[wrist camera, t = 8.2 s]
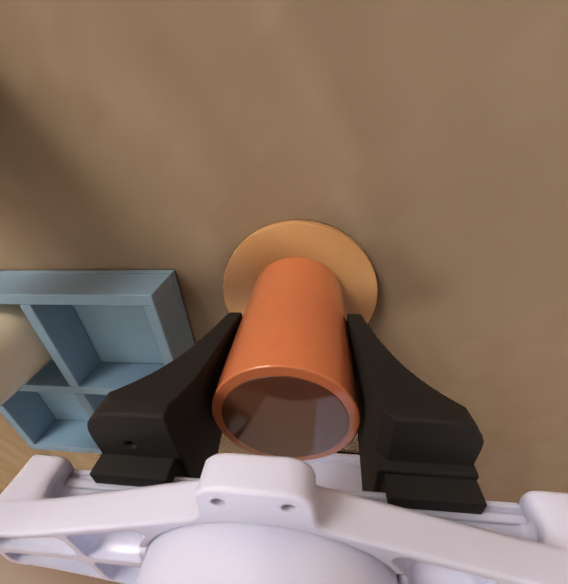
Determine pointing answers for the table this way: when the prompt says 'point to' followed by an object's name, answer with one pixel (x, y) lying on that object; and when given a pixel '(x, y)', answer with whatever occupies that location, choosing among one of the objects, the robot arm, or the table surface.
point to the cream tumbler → (18, 351)
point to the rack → (90, 344)
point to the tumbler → (290, 367)
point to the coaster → (309, 244)
